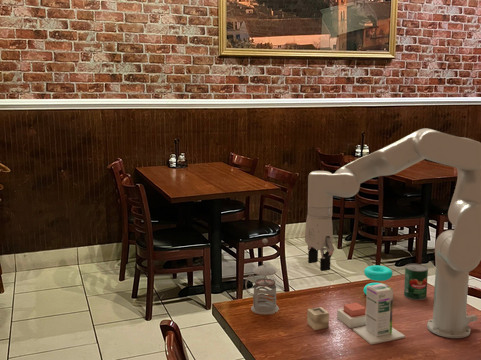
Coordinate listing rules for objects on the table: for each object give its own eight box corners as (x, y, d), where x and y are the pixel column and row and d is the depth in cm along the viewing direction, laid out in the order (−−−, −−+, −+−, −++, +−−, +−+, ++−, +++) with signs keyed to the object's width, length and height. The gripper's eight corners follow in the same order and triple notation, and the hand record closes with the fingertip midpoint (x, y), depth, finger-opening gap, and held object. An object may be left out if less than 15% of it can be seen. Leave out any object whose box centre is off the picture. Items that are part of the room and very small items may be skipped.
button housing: (357, 314, 176) (358, 305, 175) (371, 324, 168) (372, 315, 168) (337, 318, 173) (337, 309, 172) (350, 328, 165) (350, 319, 165)
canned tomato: (414, 290, 196) (415, 262, 194) (431, 297, 189) (433, 268, 187) (399, 294, 192) (400, 265, 190) (416, 301, 185) (417, 272, 183)
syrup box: (376, 337, 158) (378, 291, 155) (365, 329, 163) (366, 285, 161) (392, 333, 160) (394, 288, 157) (380, 326, 165) (381, 282, 163)
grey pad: (385, 324, 168) (385, 322, 168) (404, 337, 159) (404, 335, 159) (352, 330, 164) (352, 328, 164) (371, 344, 155) (371, 342, 155)
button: (356, 311, 173) (356, 302, 173) (365, 317, 169) (365, 308, 168) (343, 313, 172) (343, 304, 171) (351, 319, 167) (352, 310, 166)
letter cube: (321, 321, 171) (321, 306, 170) (328, 327, 166) (328, 312, 165) (307, 323, 169) (307, 308, 168) (314, 330, 164) (314, 314, 164)
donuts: (369, 262, 197) (396, 267, 192) (368, 287, 199) (394, 292, 194) (360, 270, 189) (388, 275, 184) (359, 296, 190) (386, 302, 185)
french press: (281, 314, 176) (281, 242, 172) (246, 315, 176) (246, 243, 171) (277, 302, 186) (277, 234, 182) (244, 303, 185) (244, 235, 181)
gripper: (296, 206, 168) (295, 259, 171) (323, 218, 152) (321, 277, 155) (317, 204, 170) (316, 256, 174) (345, 216, 154) (344, 273, 157)
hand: (318, 266), depth 164 cm, fingers open, 7 cm apart
